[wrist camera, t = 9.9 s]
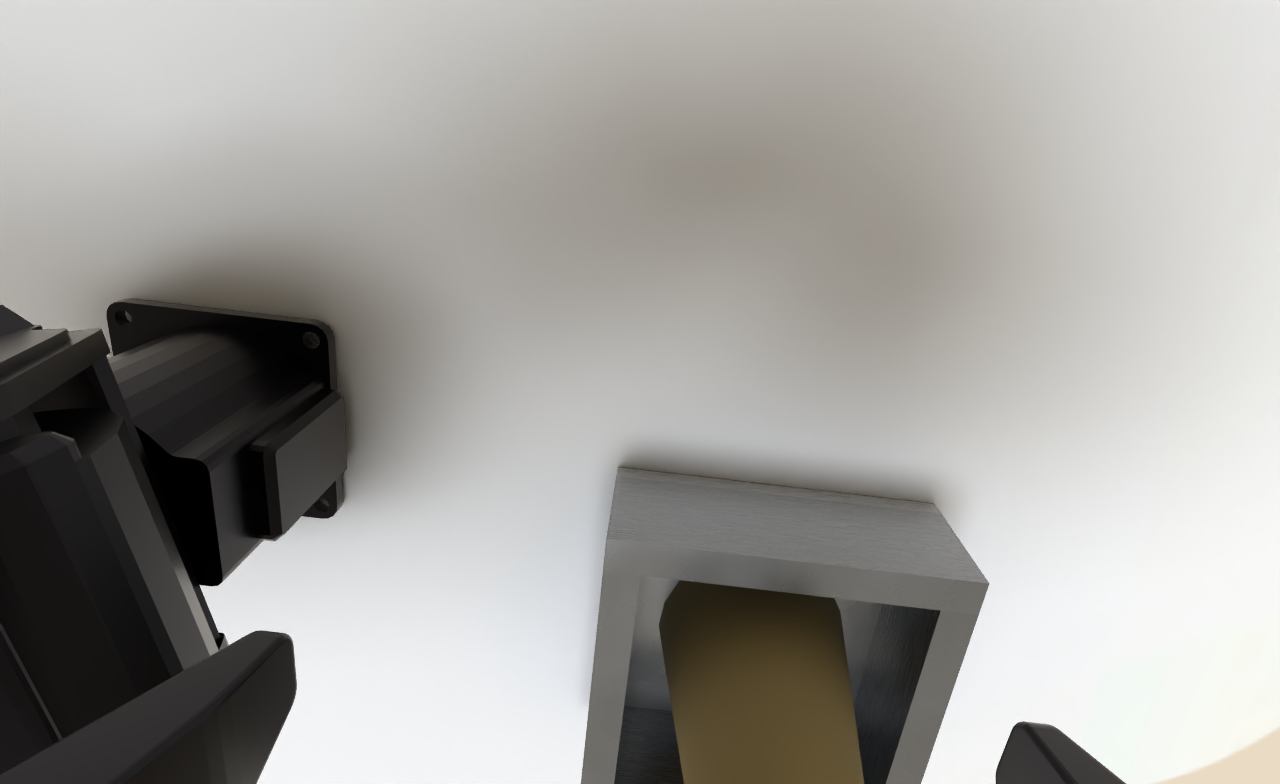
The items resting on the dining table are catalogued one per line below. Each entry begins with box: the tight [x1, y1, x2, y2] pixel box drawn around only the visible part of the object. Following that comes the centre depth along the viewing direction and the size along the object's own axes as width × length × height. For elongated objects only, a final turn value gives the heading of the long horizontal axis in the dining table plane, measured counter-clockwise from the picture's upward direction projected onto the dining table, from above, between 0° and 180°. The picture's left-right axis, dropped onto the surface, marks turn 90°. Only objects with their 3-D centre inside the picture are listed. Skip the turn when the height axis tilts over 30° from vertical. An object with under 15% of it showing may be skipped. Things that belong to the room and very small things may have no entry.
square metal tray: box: [581, 467, 989, 784], centre depth 22 cm, size 10×10×4 cm
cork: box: [659, 580, 864, 784], centre depth 18 cm, size 6×6×11 cm
